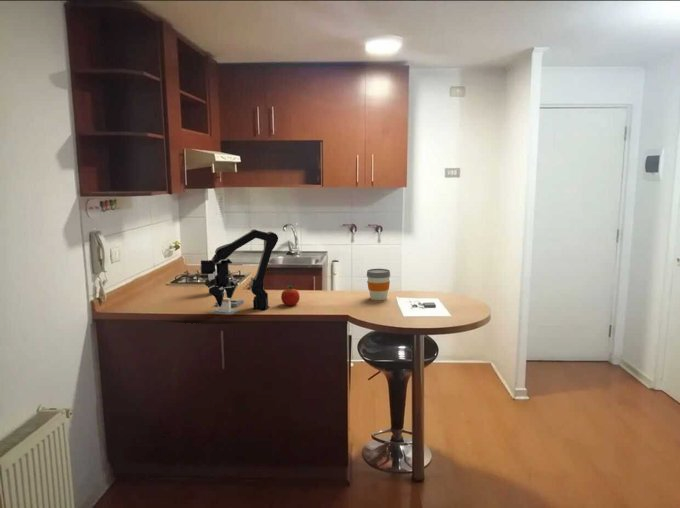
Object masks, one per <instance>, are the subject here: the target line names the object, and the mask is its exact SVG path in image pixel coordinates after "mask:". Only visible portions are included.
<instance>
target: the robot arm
mask: <svg viewBox="0 0 680 508" xmlns="http://www.w3.org/2000/svg"><path fill="white" fill-rule="evenodd" d="M255 239H259V240H262V241H263V249H262V252H261V257H260V260H259V263H258V264H259V265H258V267H257V271H256V274H255V276H254V277H251V278H250V283H249V284H248V286H249V290H250V291H251V293H252V294H253V295H254V296H253V300H252V303H253V304H252V305H253V308H252V309H253V310H257V311H258V310H260V311H266V310H268V309H269V308H271V307H270V306H269V296H268V295H269V293H267V291H266V290H265V289H264V288H265V287H264V286H265V275H266V272H267V269H268V266H269V262H270V259H271V255H272V252H273V250H274V249H275V248H276V246H277V243H278V241H279V236H278V234H277V233H275V232H273V231H267V232H266V231H262V230H257V229H252V230H251V229H250V231H249V232H247V233H245V234H243V235H242V236H239V238H237V239H235V240H234V241H231V242H229V243H227V244H224V245H221V246H218V247H217V248H216V249H215V251H214V256H212V258H211V259H208V260H205V259H202V260H200V267H199V268H200V275H203V276H204V275H208V274H213V272H215V266H216V269H217V275H216V276H215V279H212V280H210V279H208V278H207V279H205V281H204V285H205V286H206V287H207V289H208V294H209V295H211V296H214V298H215V301H216V302H217V303H218V305H219V307H221V305H222V301H223V298H225V297H224V296H225V294H226V298H230V299H231V300H232V298H233V295H234V293H235V291H236V289H237V287H238V281H237V280H231V279H230V277H231V274H230V272H229V264H233V261H232V260H231V259H230V258H229V257H231V255H233V253H234V252H235V251H236V250H238V249H240V248H241V247H244V245H246V244H249V243H250V242H252V241H253V240H255ZM214 285H215V286H214ZM211 286H214V287H211ZM209 287H211V288H210V289H209ZM224 289H225V291H226V293H223V292H224Z"/></svg>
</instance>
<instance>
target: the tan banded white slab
mask: <svg viewBox="0 0 680 508" xmlns="http://www.w3.org/2000/svg"><path fill="white" fill-rule="evenodd" d="M231 300H232V298H231V299H230V298H227V297H223V301H222V305H221V307H219V305H218V306H217V309H218V311H219V312H230V311H231V309H232V307H231Z"/></svg>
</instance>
